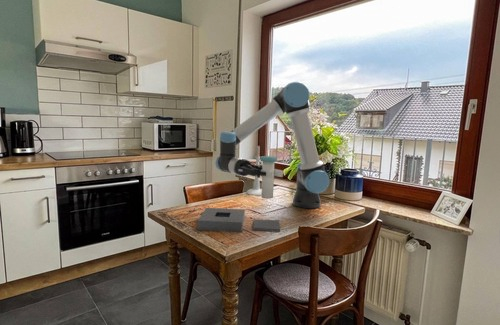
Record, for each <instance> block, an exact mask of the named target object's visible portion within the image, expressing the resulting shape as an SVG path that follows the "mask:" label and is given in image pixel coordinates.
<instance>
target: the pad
mask: <svg viewBox="0 0 500 325" xmlns="http://www.w3.org/2000/svg"><path fill="white" fill-rule="evenodd" d="M280 225H281V224H280V220H278V219H277V220H276V219H257V218H255V219H253V226H252V227H253V229H252V231H260V232H261V231H262V232H263V231H264V232H281V226H280Z"/></svg>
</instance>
